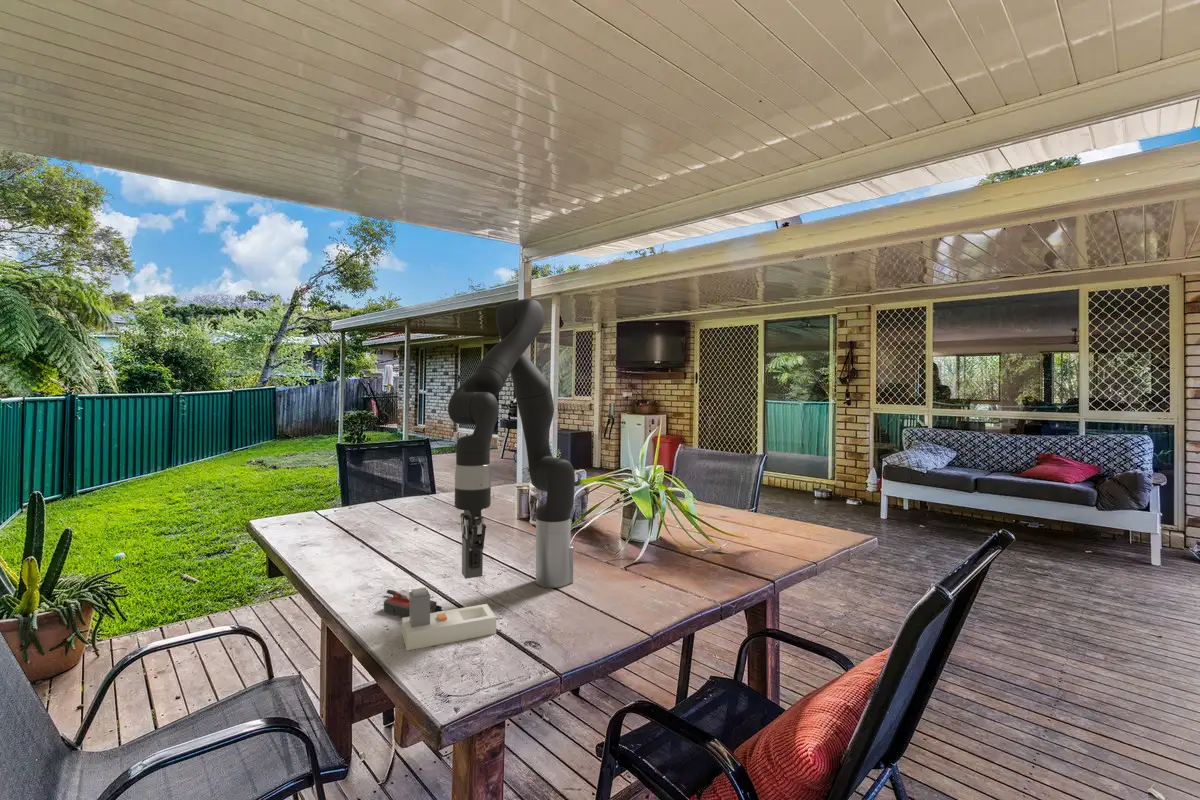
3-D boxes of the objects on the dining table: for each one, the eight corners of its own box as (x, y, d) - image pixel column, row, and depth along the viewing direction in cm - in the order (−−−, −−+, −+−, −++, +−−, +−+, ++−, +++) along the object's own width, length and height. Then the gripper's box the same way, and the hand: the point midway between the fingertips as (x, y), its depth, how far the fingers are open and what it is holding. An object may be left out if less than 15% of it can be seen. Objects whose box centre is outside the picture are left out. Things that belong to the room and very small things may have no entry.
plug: (478, 571, 121) (478, 532, 121) (482, 576, 118) (482, 536, 118) (461, 573, 120) (462, 533, 120) (465, 578, 117) (465, 537, 116)
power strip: (486, 619, 125) (486, 574, 124) (496, 633, 117) (496, 586, 117) (402, 634, 117) (402, 586, 117) (406, 650, 110) (406, 599, 109)
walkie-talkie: (449, 611, 130) (391, 595, 140) (449, 592, 130) (391, 577, 140) (419, 625, 122) (360, 606, 132) (419, 605, 122) (360, 588, 132)
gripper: (498, 489, 114) (498, 572, 114) (482, 479, 127) (481, 554, 127) (461, 491, 111) (461, 577, 111) (448, 481, 123) (448, 558, 124)
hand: (472, 564), depth 119 cm, fingers closed on plug, 3 cm apart
